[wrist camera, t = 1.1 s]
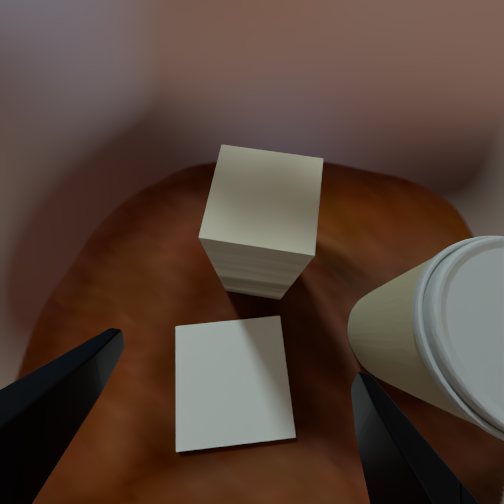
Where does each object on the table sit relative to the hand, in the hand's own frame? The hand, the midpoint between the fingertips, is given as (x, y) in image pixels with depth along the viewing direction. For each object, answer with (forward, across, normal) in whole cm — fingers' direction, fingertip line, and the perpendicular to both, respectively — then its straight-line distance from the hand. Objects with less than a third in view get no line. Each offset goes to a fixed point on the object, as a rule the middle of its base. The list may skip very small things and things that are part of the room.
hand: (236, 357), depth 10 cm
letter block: (+14, 0, +4) cm, 15 cm away
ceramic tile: (+7, 0, +11) cm, 13 cm away
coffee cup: (+11, -12, +7) cm, 18 cm away
